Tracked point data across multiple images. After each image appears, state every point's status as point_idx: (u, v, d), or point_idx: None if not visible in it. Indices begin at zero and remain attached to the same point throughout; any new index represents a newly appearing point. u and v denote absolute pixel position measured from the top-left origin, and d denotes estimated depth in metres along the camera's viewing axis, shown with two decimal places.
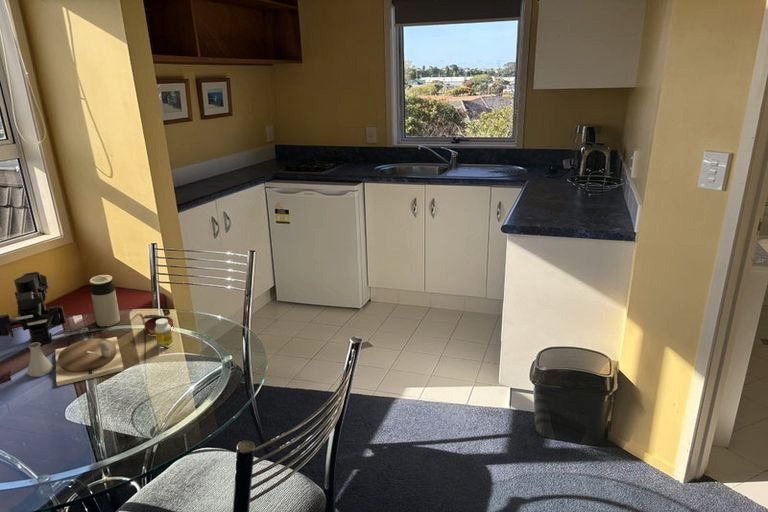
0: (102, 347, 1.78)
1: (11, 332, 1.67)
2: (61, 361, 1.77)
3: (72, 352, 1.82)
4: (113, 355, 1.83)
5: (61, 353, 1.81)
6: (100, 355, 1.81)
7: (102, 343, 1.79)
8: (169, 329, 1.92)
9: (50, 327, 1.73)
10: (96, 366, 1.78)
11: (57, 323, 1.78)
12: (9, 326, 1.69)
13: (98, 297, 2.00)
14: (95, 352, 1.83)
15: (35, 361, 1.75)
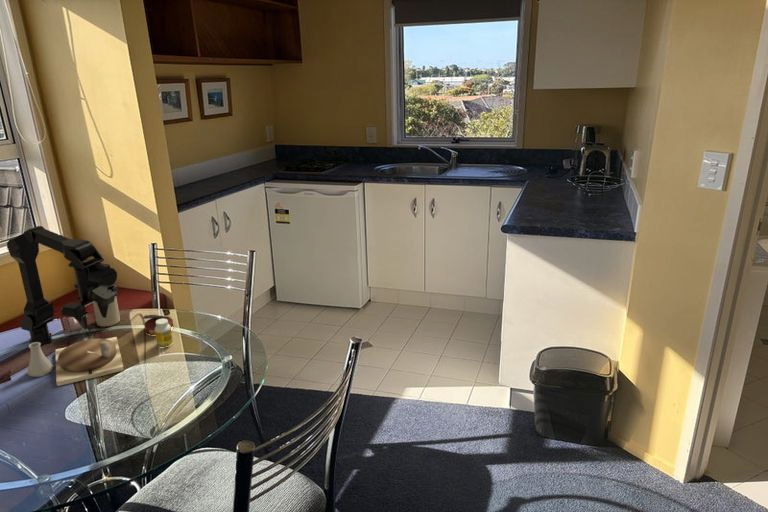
0: (102, 347, 1.78)
1: (87, 326, 1.77)
2: (61, 361, 1.77)
3: (72, 352, 1.82)
4: (113, 355, 1.83)
5: (61, 353, 1.81)
6: (100, 355, 1.81)
7: (102, 343, 1.79)
8: (169, 329, 1.92)
9: None
10: (96, 366, 1.78)
11: None
12: (85, 319, 1.76)
13: None
14: (95, 352, 1.83)
15: (35, 361, 1.75)
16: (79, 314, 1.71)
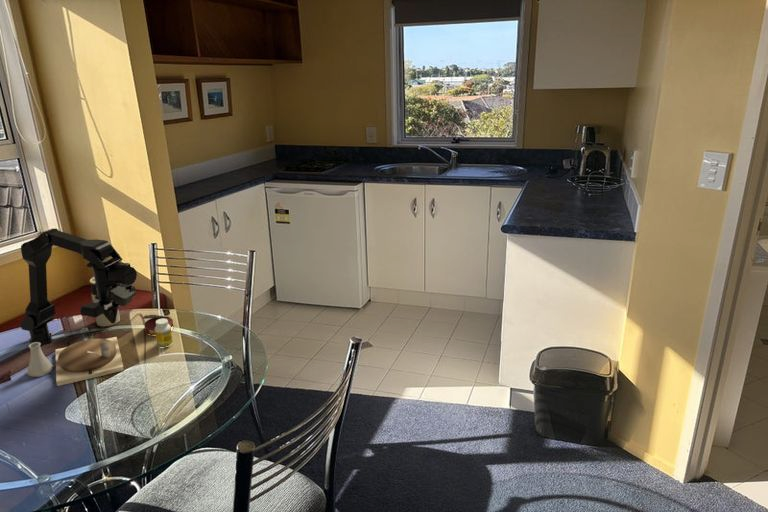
0: (102, 347, 1.78)
1: (113, 321, 1.81)
2: (61, 361, 1.77)
3: (72, 352, 1.82)
4: (113, 355, 1.83)
5: (61, 353, 1.81)
6: (100, 355, 1.81)
7: (102, 343, 1.79)
8: (169, 329, 1.92)
9: None
10: (96, 366, 1.78)
11: None
12: (112, 313, 1.80)
13: None
14: (95, 352, 1.83)
15: (35, 361, 1.75)
16: (98, 314, 1.71)
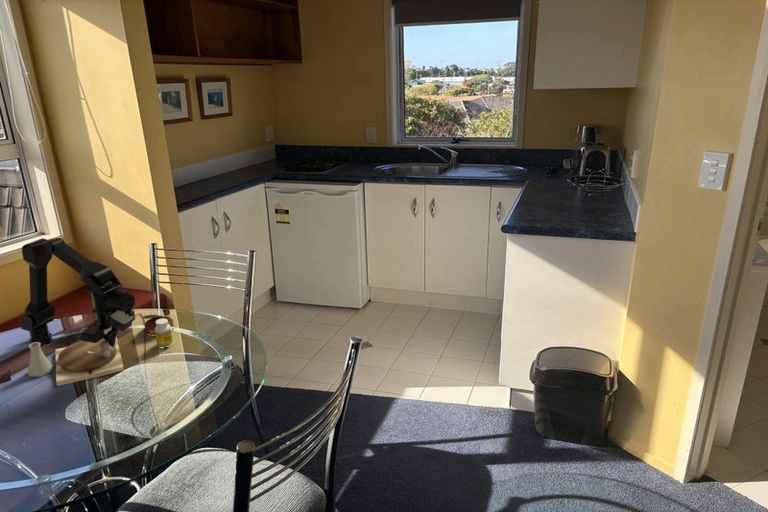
0: (102, 347, 1.78)
1: (113, 344, 1.83)
2: (61, 361, 1.77)
3: (73, 352, 1.82)
4: (113, 355, 1.83)
5: (61, 353, 1.81)
6: (100, 355, 1.81)
7: (102, 343, 1.79)
8: (169, 329, 1.92)
9: None
10: (96, 366, 1.78)
11: None
12: (112, 337, 1.81)
13: None
14: (95, 352, 1.83)
15: (35, 361, 1.75)
16: (98, 339, 1.72)
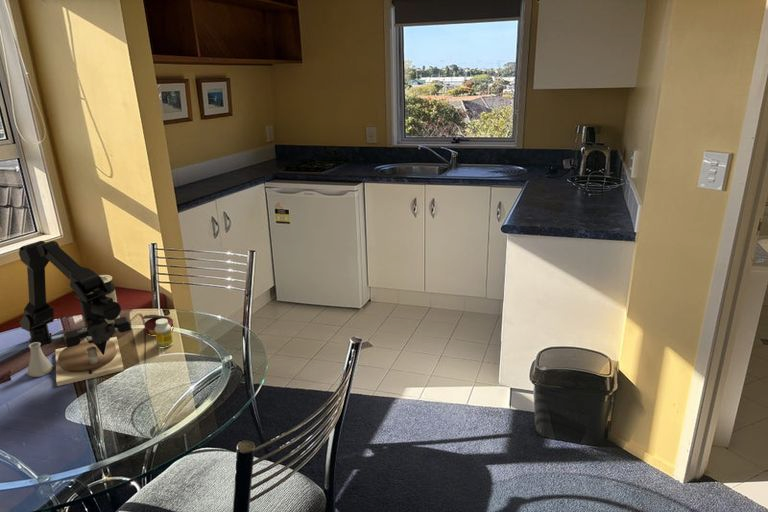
0: (87, 353, 1.75)
1: (103, 352, 1.78)
2: (60, 354, 1.81)
3: (77, 348, 1.84)
4: (102, 363, 1.79)
5: None
6: None
7: (89, 349, 1.75)
8: (169, 329, 1.92)
9: None
10: (79, 369, 1.76)
11: None
12: (99, 345, 1.76)
13: None
14: None
15: (35, 361, 1.75)
16: (70, 345, 1.69)
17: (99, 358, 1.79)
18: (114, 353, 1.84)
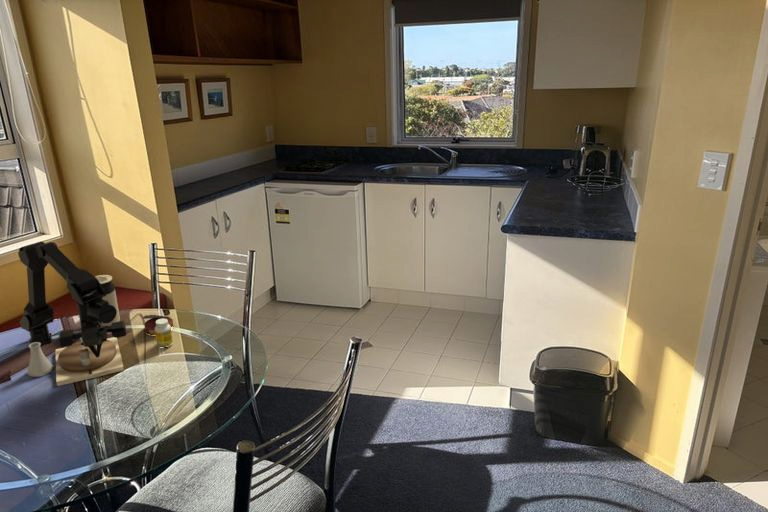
0: (79, 354, 1.74)
1: (96, 355, 1.76)
2: (63, 350, 1.83)
3: (81, 347, 1.85)
4: (94, 366, 1.77)
5: (77, 343, 1.87)
6: None
7: (81, 350, 1.74)
8: (169, 329, 1.92)
9: None
10: (71, 369, 1.76)
11: None
12: (92, 348, 1.74)
13: None
14: (88, 356, 1.81)
15: (35, 361, 1.75)
16: (63, 345, 1.68)
17: (93, 360, 1.78)
18: (110, 357, 1.82)
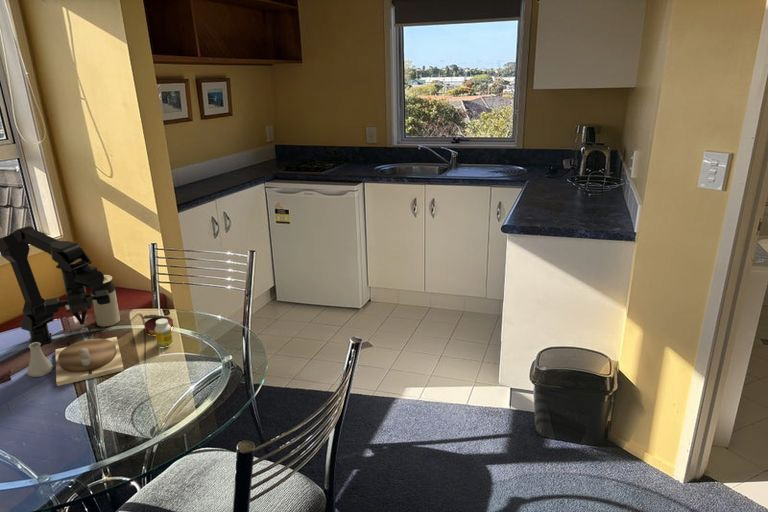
0: (79, 354, 1.74)
1: (81, 322, 1.83)
2: (63, 350, 1.83)
3: (81, 347, 1.85)
4: (94, 366, 1.77)
5: (77, 343, 1.87)
6: None
7: (81, 350, 1.74)
8: (169, 329, 1.92)
9: None
10: (71, 369, 1.76)
11: None
12: (77, 315, 1.81)
13: None
14: (88, 356, 1.81)
15: (35, 361, 1.75)
16: (49, 312, 1.74)
17: (93, 360, 1.78)
18: (110, 357, 1.82)
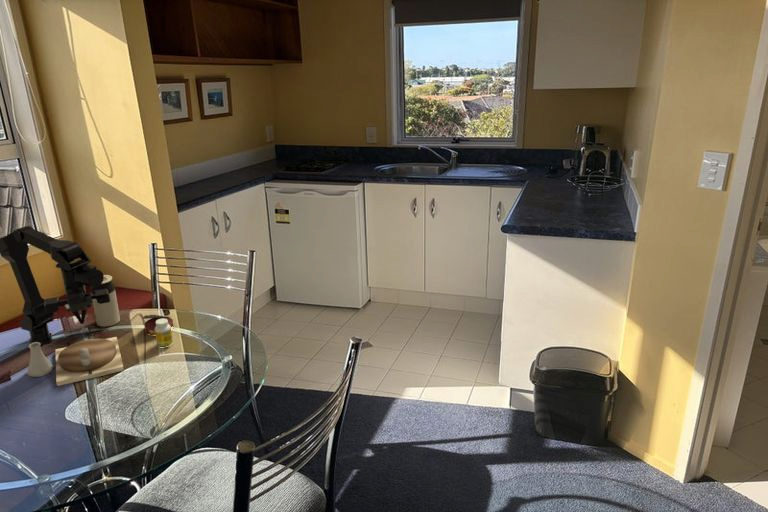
0: (79, 354, 1.74)
1: (80, 322, 1.83)
2: (63, 350, 1.83)
3: (81, 347, 1.85)
4: (94, 366, 1.77)
5: (77, 343, 1.87)
6: None
7: (81, 350, 1.74)
8: (169, 329, 1.92)
9: None
10: (71, 369, 1.76)
11: None
12: (77, 314, 1.81)
13: None
14: (88, 356, 1.81)
15: (35, 361, 1.75)
16: (49, 311, 1.74)
17: (93, 360, 1.78)
18: (110, 357, 1.82)
